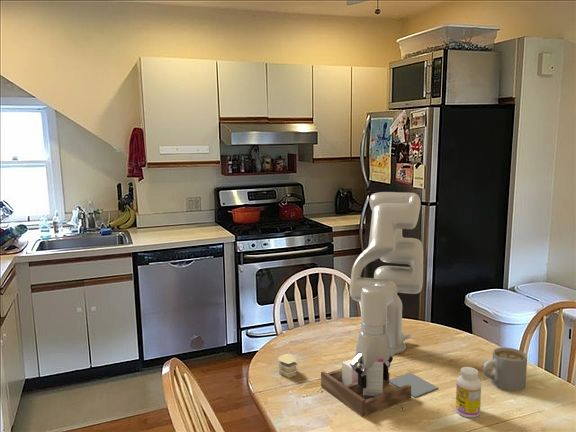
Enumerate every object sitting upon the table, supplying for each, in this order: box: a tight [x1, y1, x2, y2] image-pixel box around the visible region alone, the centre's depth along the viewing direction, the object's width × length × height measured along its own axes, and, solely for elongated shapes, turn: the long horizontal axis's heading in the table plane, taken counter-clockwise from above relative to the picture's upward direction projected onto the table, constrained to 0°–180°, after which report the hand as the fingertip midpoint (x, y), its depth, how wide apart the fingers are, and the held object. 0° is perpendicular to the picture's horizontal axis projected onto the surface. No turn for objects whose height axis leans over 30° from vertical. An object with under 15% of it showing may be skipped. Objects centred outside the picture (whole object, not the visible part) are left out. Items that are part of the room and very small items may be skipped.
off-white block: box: [341, 357, 364, 386], centre depth 154 cm, size 5×5×8 cm
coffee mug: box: [482, 346, 528, 392], centre depth 154 cm, size 13×10×10 cm
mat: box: [389, 372, 439, 399], centre depth 155 cm, size 10×12×1 cm
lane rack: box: [320, 368, 412, 418], centre depth 150 cm, size 19×20×5 cm
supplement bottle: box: [455, 366, 482, 419], centre depth 138 cm, size 7×7×13 cm
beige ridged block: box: [277, 353, 298, 379], centre depth 164 cm, size 10×9×6 cm
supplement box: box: [362, 359, 384, 399], centre depth 145 cm, size 6×6×12 cm
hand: (373, 382), depth 146 cm, fingers closed on supplement box, 8 cm apart
